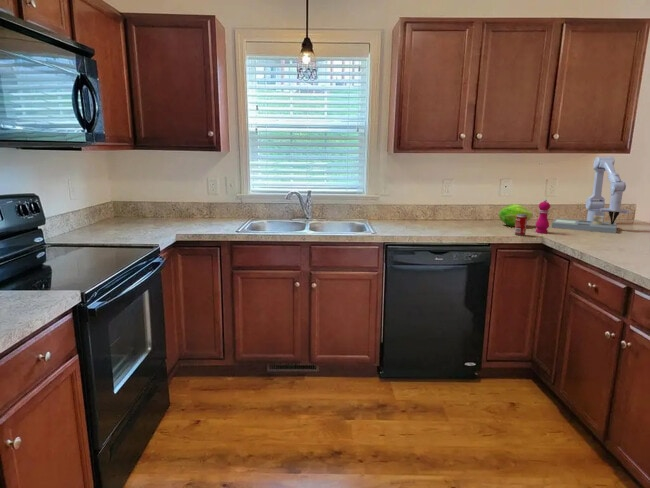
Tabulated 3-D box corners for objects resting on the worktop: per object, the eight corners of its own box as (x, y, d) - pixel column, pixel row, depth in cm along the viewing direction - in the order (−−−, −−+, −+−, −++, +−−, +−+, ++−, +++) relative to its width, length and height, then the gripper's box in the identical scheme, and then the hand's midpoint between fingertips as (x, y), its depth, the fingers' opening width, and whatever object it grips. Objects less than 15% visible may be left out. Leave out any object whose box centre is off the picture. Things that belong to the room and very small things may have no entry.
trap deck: (615, 227, 271) (616, 223, 270) (615, 233, 253) (616, 228, 252) (555, 222, 289) (556, 218, 288) (551, 227, 271) (552, 222, 271)
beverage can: (518, 233, 252) (520, 213, 249) (527, 235, 247) (529, 214, 244) (512, 234, 249) (514, 214, 246) (520, 236, 244) (522, 215, 241)
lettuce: (534, 229, 267) (533, 208, 262) (500, 231, 275) (498, 212, 270) (532, 219, 280) (531, 200, 274) (499, 222, 287) (497, 203, 282)
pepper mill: (537, 233, 252) (540, 199, 248) (533, 231, 259) (536, 198, 255) (550, 233, 251) (554, 200, 247) (545, 231, 258) (549, 198, 254)
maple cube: (602, 223, 267) (603, 216, 266) (602, 225, 263) (603, 217, 262) (592, 223, 270) (594, 215, 269) (592, 224, 266) (593, 216, 265)
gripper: (601, 201, 260) (598, 223, 263) (630, 203, 252) (626, 226, 255) (601, 200, 266) (598, 222, 269) (629, 202, 258) (626, 224, 261)
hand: (612, 224), depth 262 cm, fingers closed
